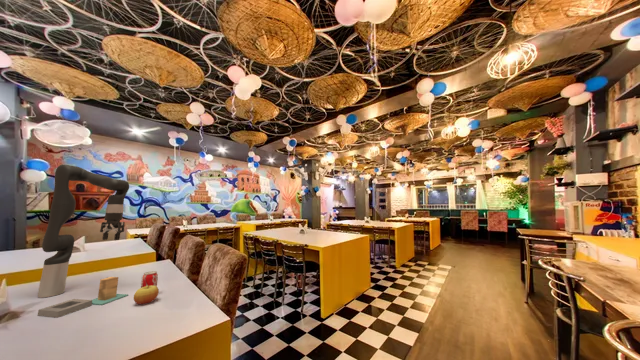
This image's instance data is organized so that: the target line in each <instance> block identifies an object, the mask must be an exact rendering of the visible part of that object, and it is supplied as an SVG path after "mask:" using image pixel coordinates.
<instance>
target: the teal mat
mask: <svg viewBox="0 0 640 360" xmlns="http://www.w3.org/2000/svg"><path fill="white" fill-rule="evenodd" d="M128 296H129V294H128V293H127V294H125V293H116V297H114V298H111V299H108V300H105V301H104V300H98V297H95V298H93V299H91V300H92V306H103V305H106V304H110V303H112V302H114V301H118V300H120V299H123V298H126V297H128Z"/></svg>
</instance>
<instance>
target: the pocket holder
mask: <svg viewBox="0 0 640 360" xmlns="http://www.w3.org/2000/svg"><path fill="white" fill-rule="evenodd" d="M92 300H93V299H82V298H81V299H80V298H71V299H69V300H66V301H63V302H59V303H56V304H52V305H49V306H47V307H44V308H40V309H38V312H37V317H45V318H46V317H47V318H62V317H63V316H66V315H69V314H72V313H75V312H77V311H79V310H80V311H81V310H83V309H85V308H89V307H92V306H93V305H92Z"/></svg>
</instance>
